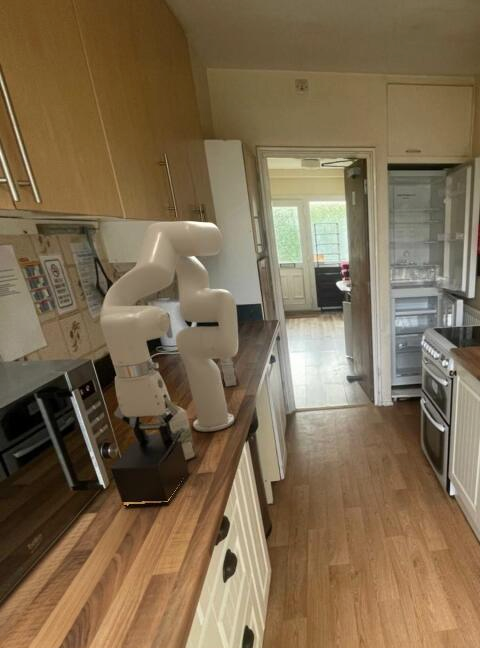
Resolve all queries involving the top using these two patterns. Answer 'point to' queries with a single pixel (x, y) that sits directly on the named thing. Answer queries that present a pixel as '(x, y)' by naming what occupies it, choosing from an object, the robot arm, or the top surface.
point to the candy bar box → (228, 371)
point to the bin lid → (146, 451)
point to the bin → (153, 481)
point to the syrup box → (182, 432)
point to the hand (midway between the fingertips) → (155, 438)
